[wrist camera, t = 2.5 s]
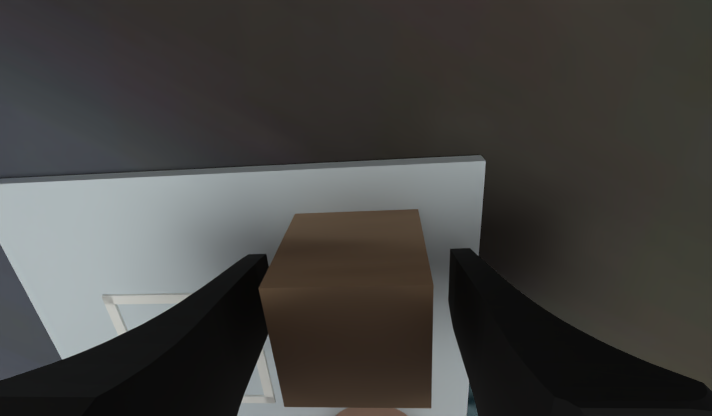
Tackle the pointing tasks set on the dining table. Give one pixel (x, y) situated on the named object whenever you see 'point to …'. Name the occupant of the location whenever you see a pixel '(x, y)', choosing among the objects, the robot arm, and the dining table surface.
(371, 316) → the walnut cube
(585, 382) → the robot arm
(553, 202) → the dining table surface
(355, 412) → the terracotta cylinder
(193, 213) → the pale gray board
